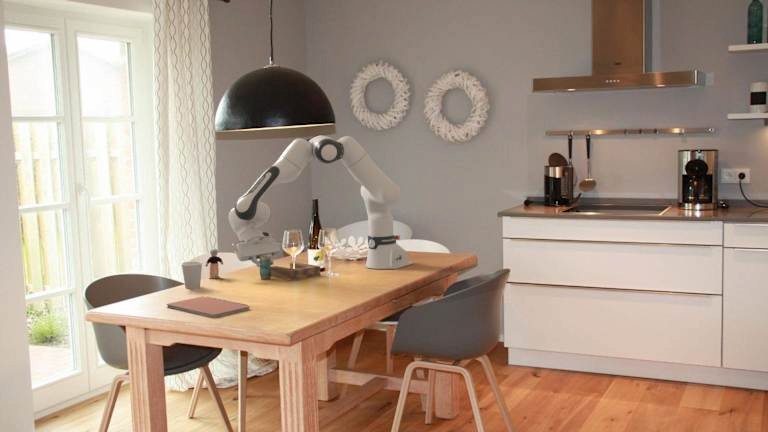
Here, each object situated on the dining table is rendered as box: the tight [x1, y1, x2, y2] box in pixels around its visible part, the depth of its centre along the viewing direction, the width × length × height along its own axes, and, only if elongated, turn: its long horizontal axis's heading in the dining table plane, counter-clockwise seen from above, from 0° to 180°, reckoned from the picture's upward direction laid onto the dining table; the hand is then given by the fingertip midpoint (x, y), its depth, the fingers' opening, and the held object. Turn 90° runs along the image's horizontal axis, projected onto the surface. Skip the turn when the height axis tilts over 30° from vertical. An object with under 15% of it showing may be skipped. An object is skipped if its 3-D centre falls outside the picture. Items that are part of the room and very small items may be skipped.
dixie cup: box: [180, 260, 203, 290], centre depth 324 cm, size 8×8×10 cm
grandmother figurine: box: [204, 247, 224, 280], centre depth 344 cm, size 8×4×13 cm, turn 131°
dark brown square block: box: [270, 261, 321, 282], centre depth 346 cm, size 15×16×4 cm
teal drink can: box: [258, 254, 272, 281], centre depth 340 cm, size 5×5×10 cm
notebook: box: [165, 296, 251, 318], centre depth 288 cm, size 27×17×2 cm, turn 50°
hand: (266, 265), depth 340 cm, fingers closed on teal drink can, 5 cm apart
